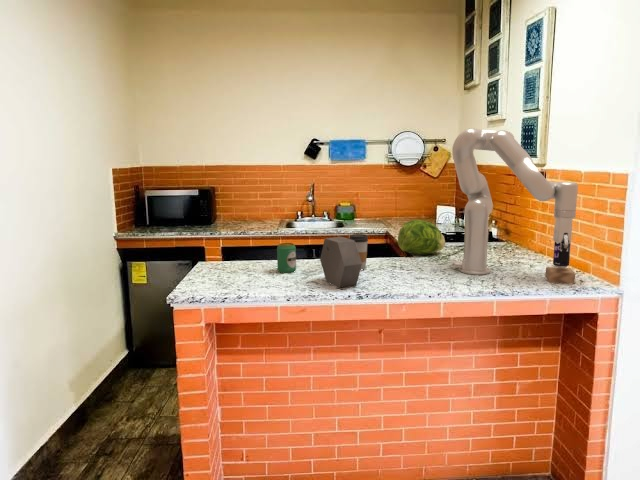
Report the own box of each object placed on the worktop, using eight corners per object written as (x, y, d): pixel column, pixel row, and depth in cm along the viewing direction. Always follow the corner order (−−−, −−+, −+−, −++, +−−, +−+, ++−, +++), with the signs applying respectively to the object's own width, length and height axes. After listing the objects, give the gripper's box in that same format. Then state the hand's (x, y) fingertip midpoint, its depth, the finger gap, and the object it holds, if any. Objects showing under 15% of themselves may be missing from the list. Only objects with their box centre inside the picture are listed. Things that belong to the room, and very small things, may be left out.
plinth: (548, 282, 190) (549, 271, 190) (545, 276, 199) (546, 266, 198) (574, 284, 188) (575, 273, 187) (569, 278, 196) (570, 267, 196)
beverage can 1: (286, 274, 206) (286, 246, 204) (273, 271, 211) (273, 244, 209) (299, 271, 211) (299, 244, 209) (287, 268, 217) (286, 241, 215)
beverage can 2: (554, 264, 196) (557, 235, 194) (570, 266, 193) (572, 236, 191) (551, 266, 192) (553, 236, 190) (566, 269, 188) (569, 238, 186)
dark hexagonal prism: (366, 277, 181) (350, 227, 188) (348, 280, 178) (333, 229, 185) (346, 292, 195) (333, 245, 202) (330, 294, 192) (316, 247, 199)
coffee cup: (371, 268, 215) (372, 235, 212) (359, 272, 209) (360, 237, 206) (356, 266, 220) (357, 233, 218) (344, 269, 214) (344, 235, 212)
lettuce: (456, 241, 235) (445, 215, 248) (412, 234, 229) (403, 208, 242) (440, 266, 247) (431, 240, 260) (397, 260, 241) (390, 234, 254)
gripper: (550, 211, 198) (547, 254, 201) (558, 216, 182) (554, 263, 185) (570, 211, 196) (567, 255, 199) (580, 217, 180) (576, 264, 183)
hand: (561, 259), depth 192 cm, fingers closed on beverage can 2, 5 cm apart
